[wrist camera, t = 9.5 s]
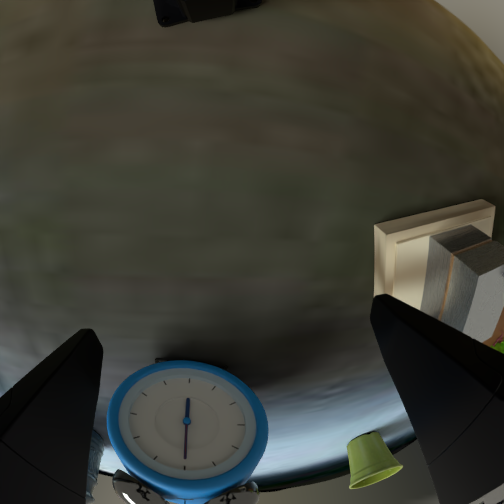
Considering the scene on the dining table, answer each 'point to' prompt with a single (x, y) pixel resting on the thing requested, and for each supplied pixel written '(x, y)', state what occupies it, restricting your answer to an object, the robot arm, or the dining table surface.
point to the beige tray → (419, 246)
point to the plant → (497, 335)
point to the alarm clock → (186, 435)
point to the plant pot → (370, 460)
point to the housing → (465, 281)
